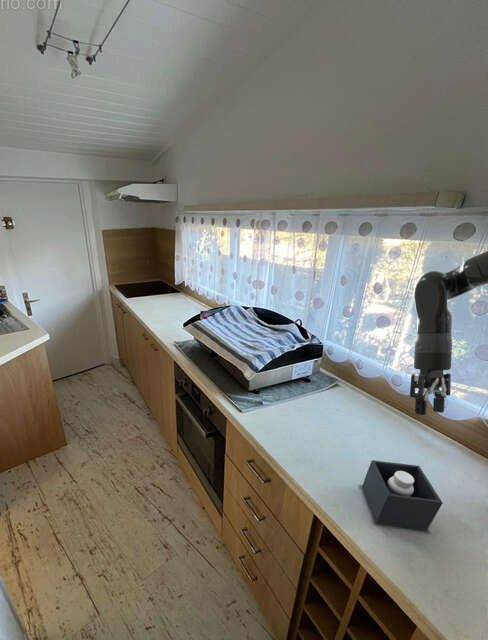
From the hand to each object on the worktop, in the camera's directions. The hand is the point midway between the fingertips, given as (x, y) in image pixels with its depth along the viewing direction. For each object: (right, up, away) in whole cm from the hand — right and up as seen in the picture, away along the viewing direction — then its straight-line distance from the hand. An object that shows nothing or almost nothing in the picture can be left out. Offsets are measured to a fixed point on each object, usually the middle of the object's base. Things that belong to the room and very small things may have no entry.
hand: (429, 413), depth 80 cm
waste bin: (-11, -24, -1) cm, 26 cm away
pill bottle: (-11, -23, -1) cm, 26 cm away
